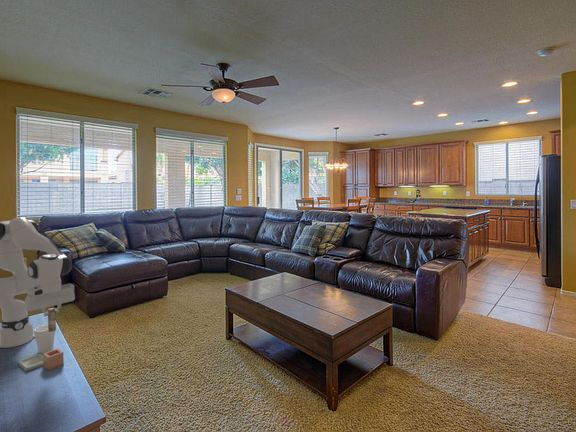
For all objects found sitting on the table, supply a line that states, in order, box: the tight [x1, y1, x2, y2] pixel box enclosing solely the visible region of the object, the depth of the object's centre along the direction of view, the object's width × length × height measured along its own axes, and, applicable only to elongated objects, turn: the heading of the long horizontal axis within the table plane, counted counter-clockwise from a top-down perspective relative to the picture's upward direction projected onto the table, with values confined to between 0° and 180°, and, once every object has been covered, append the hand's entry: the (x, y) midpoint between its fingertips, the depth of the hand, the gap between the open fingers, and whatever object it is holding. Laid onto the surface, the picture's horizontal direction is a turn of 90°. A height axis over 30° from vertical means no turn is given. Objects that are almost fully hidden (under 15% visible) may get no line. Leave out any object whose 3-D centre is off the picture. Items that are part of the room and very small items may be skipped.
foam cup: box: [33, 323, 56, 354], centre depth 173 cm, size 10×9×13 cm
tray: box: [17, 352, 44, 373], centre depth 160 cm, size 12×9×2 cm
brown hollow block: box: [42, 348, 65, 372], centre depth 158 cm, size 6×6×7 cm
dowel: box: [47, 307, 57, 332], centre depth 156 cm, size 3×3×11 cm
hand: (51, 314), depth 156 cm, fingers closed on dowel, 3 cm apart
